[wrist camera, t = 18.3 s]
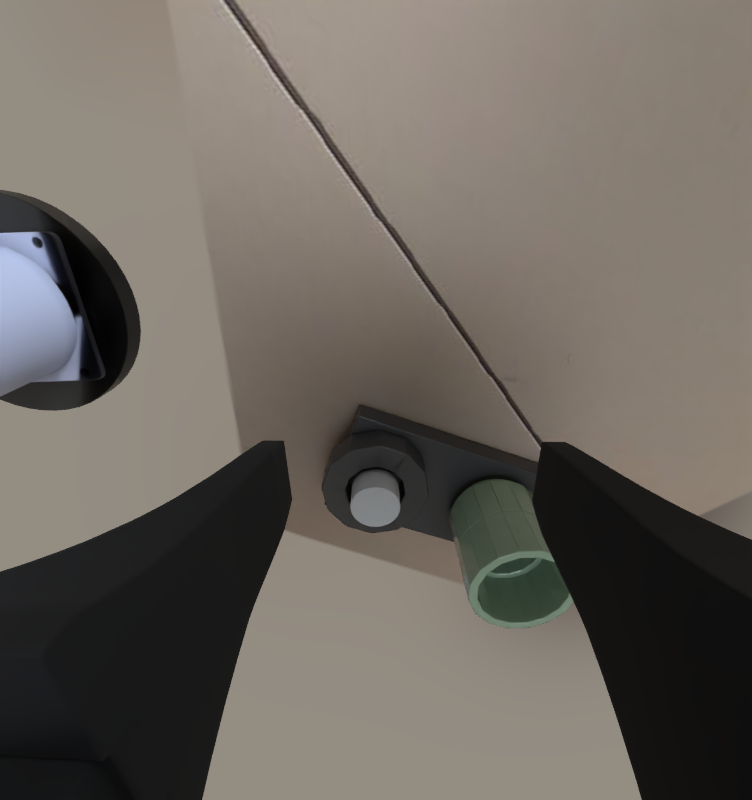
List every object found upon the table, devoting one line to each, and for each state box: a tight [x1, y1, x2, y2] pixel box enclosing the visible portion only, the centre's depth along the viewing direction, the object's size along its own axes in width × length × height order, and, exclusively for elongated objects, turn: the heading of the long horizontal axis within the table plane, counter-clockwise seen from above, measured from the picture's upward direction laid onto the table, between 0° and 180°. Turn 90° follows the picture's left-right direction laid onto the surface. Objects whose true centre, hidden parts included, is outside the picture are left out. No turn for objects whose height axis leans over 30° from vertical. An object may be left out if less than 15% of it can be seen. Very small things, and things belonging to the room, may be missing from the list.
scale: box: [322, 405, 538, 542], centre depth 22 cm, size 14×6×3 cm, turn 70°
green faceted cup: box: [450, 479, 574, 628], centre depth 20 cm, size 5×5×6 cm
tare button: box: [350, 469, 400, 527], centre depth 20 cm, size 2×2×2 cm
